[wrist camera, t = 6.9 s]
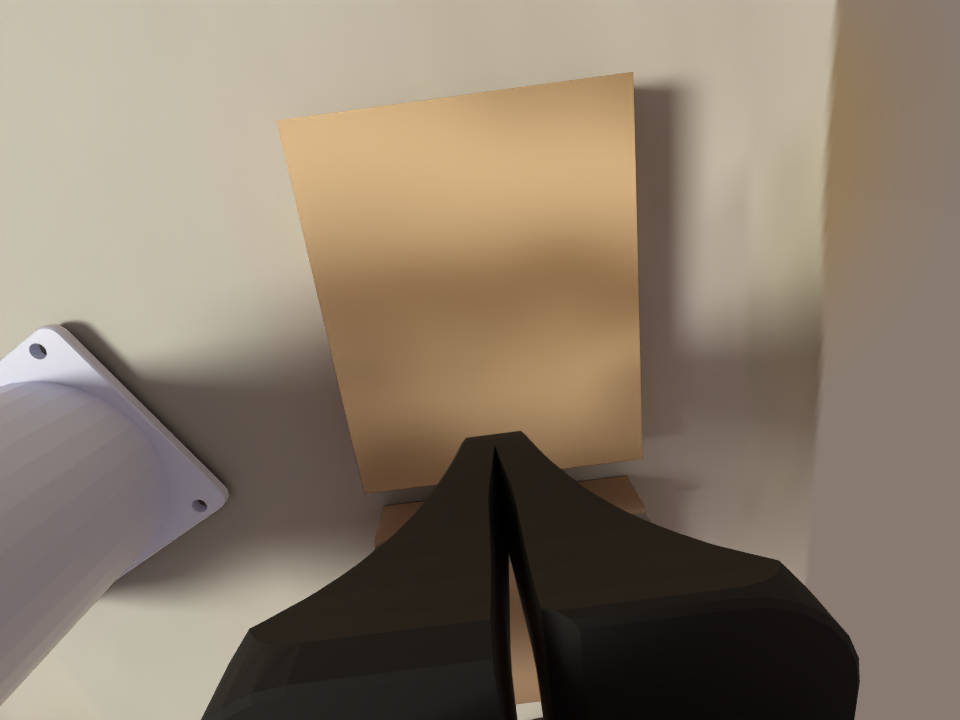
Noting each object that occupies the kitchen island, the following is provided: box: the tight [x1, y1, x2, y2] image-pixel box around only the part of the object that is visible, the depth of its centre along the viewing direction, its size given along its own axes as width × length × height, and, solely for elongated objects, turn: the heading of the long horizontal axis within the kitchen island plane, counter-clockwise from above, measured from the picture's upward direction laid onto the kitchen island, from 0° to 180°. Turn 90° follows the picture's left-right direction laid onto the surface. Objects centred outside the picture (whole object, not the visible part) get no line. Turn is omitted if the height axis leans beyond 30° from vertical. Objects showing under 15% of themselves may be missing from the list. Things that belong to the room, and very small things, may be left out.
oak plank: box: [277, 72, 643, 494], centre depth 15 cm, size 11×9×2 cm
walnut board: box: [374, 476, 650, 704], centre depth 18 cm, size 8×9×3 cm
